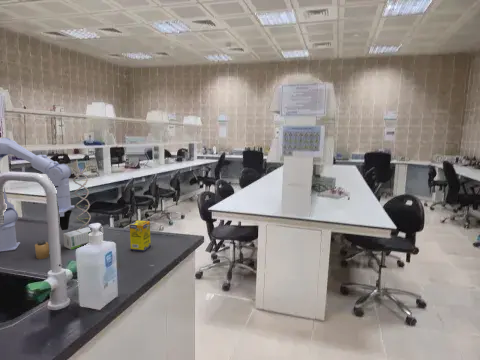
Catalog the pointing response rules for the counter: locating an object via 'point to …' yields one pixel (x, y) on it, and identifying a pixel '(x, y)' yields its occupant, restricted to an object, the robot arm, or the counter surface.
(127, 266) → the counter surface
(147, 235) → the supplement box
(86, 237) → the syrup box
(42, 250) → the amber bottle
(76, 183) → the dna model
